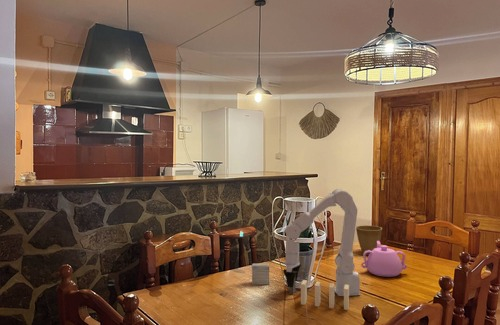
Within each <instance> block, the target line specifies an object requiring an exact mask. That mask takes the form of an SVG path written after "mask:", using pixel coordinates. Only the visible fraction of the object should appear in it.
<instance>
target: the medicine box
mask: <svg viewBox="0 0 500 325" xmlns="http://www.w3.org/2000/svg"><path fill="white" fill-rule="evenodd" d="M251 283H252V286H254V285H255V286H259V285H261V286H262V285H263V286H264V285H270V264H269V263H266V262H265V263H264V262H262V263H260V262H259V263H252V264H251Z"/></svg>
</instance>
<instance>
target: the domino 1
mask: <svg viewBox="0 0 500 325" xmlns="http://www.w3.org/2000/svg"><path fill="white" fill-rule="evenodd" d="M288 288H289V292H288V293H289V295H294V294H295V293H296V281H295V279H294V285H293V287H288Z"/></svg>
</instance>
